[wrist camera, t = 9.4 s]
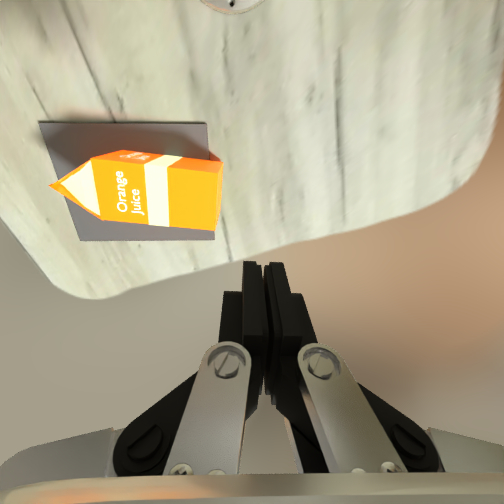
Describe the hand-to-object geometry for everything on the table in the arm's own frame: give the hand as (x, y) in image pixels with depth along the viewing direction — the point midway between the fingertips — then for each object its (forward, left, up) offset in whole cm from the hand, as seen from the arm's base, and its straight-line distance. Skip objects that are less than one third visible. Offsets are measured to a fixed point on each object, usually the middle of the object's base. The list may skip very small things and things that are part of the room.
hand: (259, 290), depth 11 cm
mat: (+3, -17, -31) cm, 36 cm away
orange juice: (+3, -4, -26) cm, 27 cm away
